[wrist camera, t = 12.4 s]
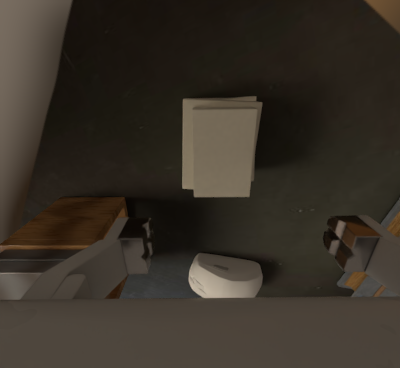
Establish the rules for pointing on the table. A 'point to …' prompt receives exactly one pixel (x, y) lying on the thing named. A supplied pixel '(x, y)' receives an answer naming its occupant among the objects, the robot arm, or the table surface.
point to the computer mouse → (224, 276)
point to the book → (359, 281)
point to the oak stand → (56, 241)
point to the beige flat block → (223, 150)
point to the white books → (187, 129)
